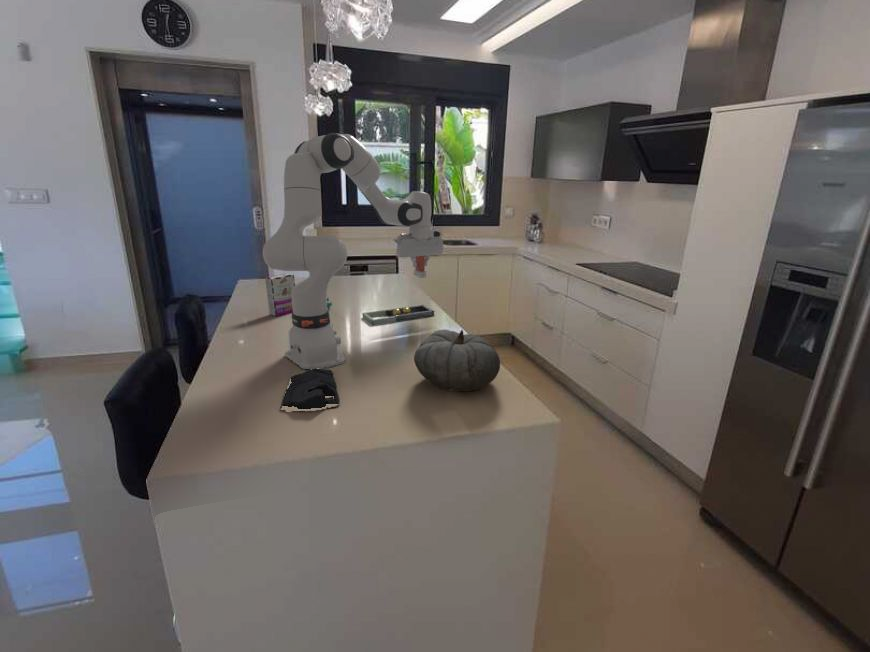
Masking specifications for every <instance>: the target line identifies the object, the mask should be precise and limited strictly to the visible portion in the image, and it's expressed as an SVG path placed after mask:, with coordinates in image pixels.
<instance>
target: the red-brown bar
mask: <svg viewBox="0 0 870 652" xmlns="http://www.w3.org/2000/svg"><path fill="white" fill-rule="evenodd" d="M415 261H416V262H417V263H418V267H414V268H415V269H413V276H416V277H418V278H419V279H423V278H427V271H426V270H425V267H426V266H425V256H416V259H415Z"/></svg>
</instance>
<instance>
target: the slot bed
mask: <svg viewBox="0 0 870 652" xmlns="http://www.w3.org/2000/svg"><path fill="white" fill-rule="evenodd" d="M405 307H406V306H405ZM405 307H397V308H396V309H399V310H400V311H401V315H396V316H395V317H396V322H400V321H402V322H403V321H407V320H413V319H420V318H426V317H433V316H435V310H434V309H432V308H430V307H428V306H426V305H424V304H420V305H419V304H418V305H413V306H407V307H408V308H409V309H410V310H411V313H410V314H403V312H402V311H403V309H404V308H405ZM394 309H395V308H392V309H391V308H390V309H385V310H386V315H385V316H387V317H393V310H394Z"/></svg>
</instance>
